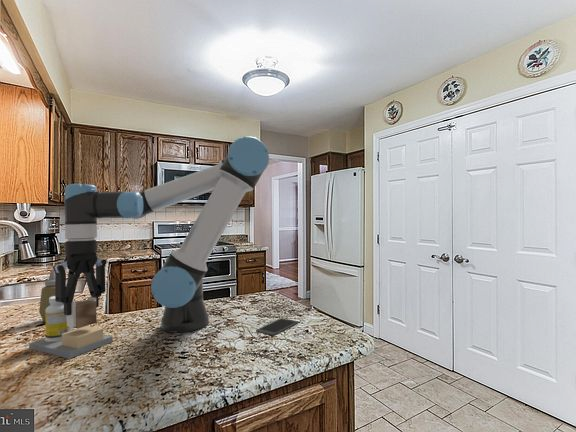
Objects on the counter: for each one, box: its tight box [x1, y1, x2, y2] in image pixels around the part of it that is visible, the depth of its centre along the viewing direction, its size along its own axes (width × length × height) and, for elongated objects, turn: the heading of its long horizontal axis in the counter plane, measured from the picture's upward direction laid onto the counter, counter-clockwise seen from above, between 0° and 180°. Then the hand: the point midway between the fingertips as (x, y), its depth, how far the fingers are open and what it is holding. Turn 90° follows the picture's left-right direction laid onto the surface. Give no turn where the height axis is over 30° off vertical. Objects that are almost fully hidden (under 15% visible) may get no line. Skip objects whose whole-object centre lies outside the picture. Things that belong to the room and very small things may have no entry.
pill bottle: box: [45, 296, 74, 340], centre depth 91 cm, size 6×6×12 cm
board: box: [28, 325, 114, 360], centre depth 89 cm, size 18×12×4 cm, turn 66°
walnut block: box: [73, 299, 97, 329], centre depth 87 cm, size 5×5×6 cm
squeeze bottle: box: [38, 269, 55, 323], centre depth 112 cm, size 8×8×18 cm
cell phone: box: [256, 317, 299, 337], centre depth 100 cm, size 7×14×1 cm, turn 145°
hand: (82, 322), depth 87 cm, fingers closed on walnut block, 5 cm apart
